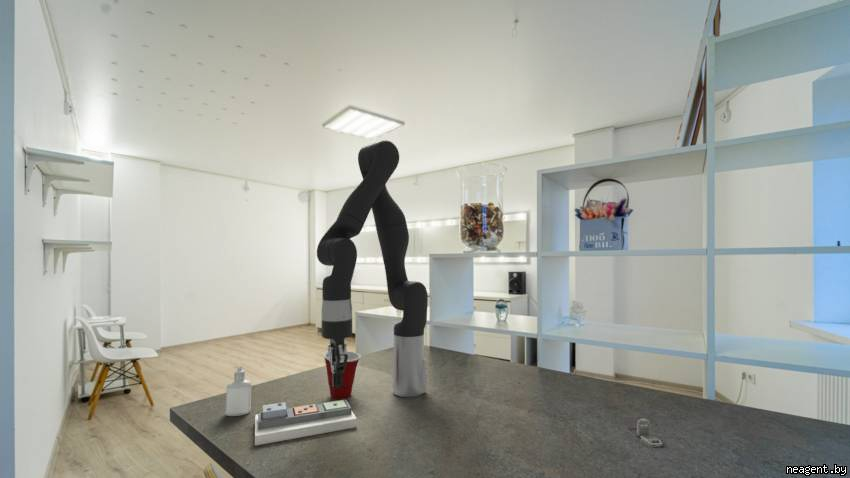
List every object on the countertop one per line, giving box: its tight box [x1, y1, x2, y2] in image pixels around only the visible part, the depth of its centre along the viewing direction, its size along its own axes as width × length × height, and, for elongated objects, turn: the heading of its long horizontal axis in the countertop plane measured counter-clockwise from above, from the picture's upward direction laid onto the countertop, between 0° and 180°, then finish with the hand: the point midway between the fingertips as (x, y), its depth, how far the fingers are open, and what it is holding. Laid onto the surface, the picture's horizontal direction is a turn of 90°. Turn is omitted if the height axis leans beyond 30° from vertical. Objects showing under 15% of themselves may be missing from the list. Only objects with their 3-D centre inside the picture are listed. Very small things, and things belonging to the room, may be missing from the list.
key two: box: [262, 401, 288, 419], centre depth 87 cm, size 5×4×2 cm
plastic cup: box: [323, 350, 362, 400], centre depth 109 cm, size 11×11×12 cm
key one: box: [322, 399, 347, 411], centre depth 92 cm, size 5×4×2 cm
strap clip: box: [626, 418, 664, 448], centre depth 84 cm, size 8×3×4 cm, turn 6°
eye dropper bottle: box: [225, 365, 252, 417], centre depth 96 cm, size 4×6×12 cm
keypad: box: [254, 398, 358, 446], centre depth 89 cm, size 22×12×4 cm, turn 114°
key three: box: [293, 403, 318, 416], centre depth 89 cm, size 5×4×2 cm
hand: (337, 387), depth 93 cm, fingers closed
